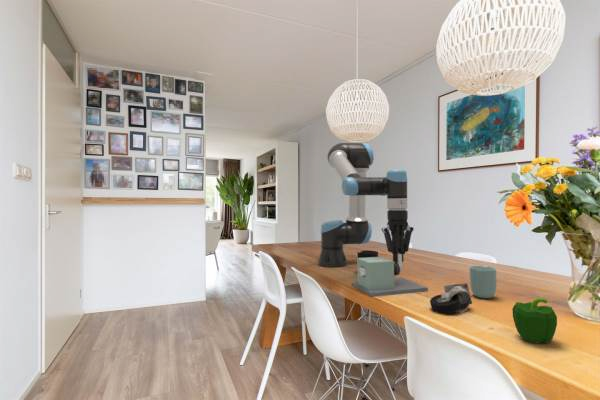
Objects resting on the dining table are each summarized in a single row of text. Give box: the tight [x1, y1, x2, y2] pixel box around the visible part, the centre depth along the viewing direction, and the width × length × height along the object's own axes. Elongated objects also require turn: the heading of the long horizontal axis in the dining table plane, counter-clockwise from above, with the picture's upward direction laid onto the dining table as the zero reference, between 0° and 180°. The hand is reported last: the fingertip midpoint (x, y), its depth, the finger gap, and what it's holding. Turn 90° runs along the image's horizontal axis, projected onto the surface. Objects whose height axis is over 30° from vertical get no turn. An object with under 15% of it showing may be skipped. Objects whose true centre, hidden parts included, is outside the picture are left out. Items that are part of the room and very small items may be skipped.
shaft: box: [358, 262, 401, 276], centre depth 118 cm, size 5×16×5 cm, turn 105°
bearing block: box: [351, 256, 429, 297], centre depth 119 cm, size 16×23×11 cm
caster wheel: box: [429, 283, 473, 315], centre depth 94 cm, size 7×11×10 cm
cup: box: [469, 265, 498, 300], centre depth 106 cm, size 8×8×10 cm
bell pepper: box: [511, 297, 558, 344], centre depth 73 cm, size 8×8×10 cm
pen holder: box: [357, 249, 379, 258], centre depth 144 cm, size 9×9×10 cm
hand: (398, 270), depth 120 cm, fingers closed
